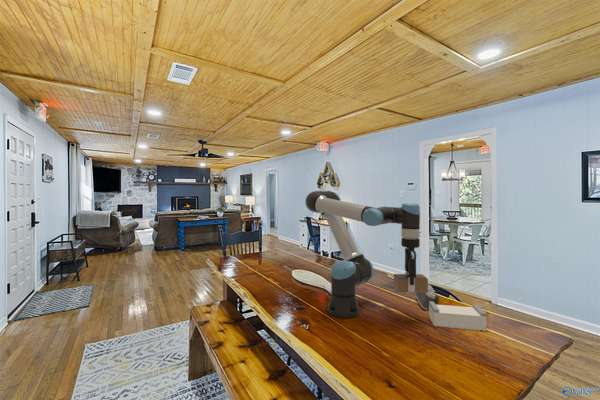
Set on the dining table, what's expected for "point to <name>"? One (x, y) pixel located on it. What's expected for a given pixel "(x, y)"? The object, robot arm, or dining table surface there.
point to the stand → (458, 316)
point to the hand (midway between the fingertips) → (409, 288)
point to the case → (402, 283)
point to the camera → (427, 298)
